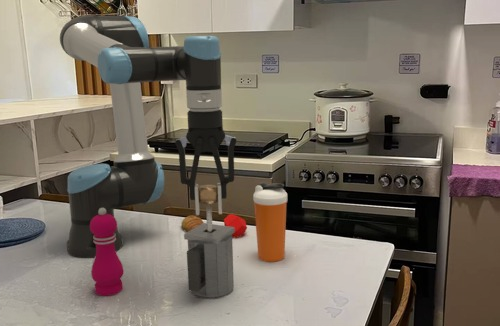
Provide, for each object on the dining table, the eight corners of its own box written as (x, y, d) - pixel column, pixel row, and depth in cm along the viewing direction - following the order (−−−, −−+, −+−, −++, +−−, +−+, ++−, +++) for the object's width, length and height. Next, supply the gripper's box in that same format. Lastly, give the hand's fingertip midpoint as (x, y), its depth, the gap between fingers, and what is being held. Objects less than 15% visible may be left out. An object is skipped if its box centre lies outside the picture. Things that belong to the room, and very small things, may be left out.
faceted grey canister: (174, 299, 117) (171, 239, 114) (204, 276, 129) (202, 221, 126) (213, 307, 113) (211, 245, 110) (241, 283, 124) (239, 226, 122)
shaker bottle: (285, 264, 135) (284, 189, 131) (251, 262, 137) (249, 188, 133) (290, 251, 144) (289, 180, 140) (258, 249, 145) (256, 179, 141)
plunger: (189, 274, 120) (185, 189, 116) (205, 262, 126) (202, 182, 122) (217, 279, 117) (214, 192, 112) (232, 267, 123) (229, 184, 119)
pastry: (209, 233, 160) (208, 221, 159) (188, 237, 158) (187, 225, 157) (200, 224, 169) (199, 213, 168) (179, 228, 166) (178, 216, 165)
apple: (252, 219, 155) (237, 204, 160) (233, 228, 151) (218, 212, 157) (251, 236, 159) (236, 221, 164) (233, 245, 155) (218, 229, 161)
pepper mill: (108, 299, 118) (101, 214, 114) (86, 292, 122) (78, 209, 118) (131, 287, 124) (125, 205, 120) (109, 280, 128) (103, 201, 124)
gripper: (162, 112, 109) (168, 219, 114) (246, 109, 110) (248, 216, 115) (165, 108, 117) (171, 209, 121) (243, 106, 118) (246, 206, 123)
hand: (209, 212), depth 118 cm, fingers closed on plunger, 4 cm apart
